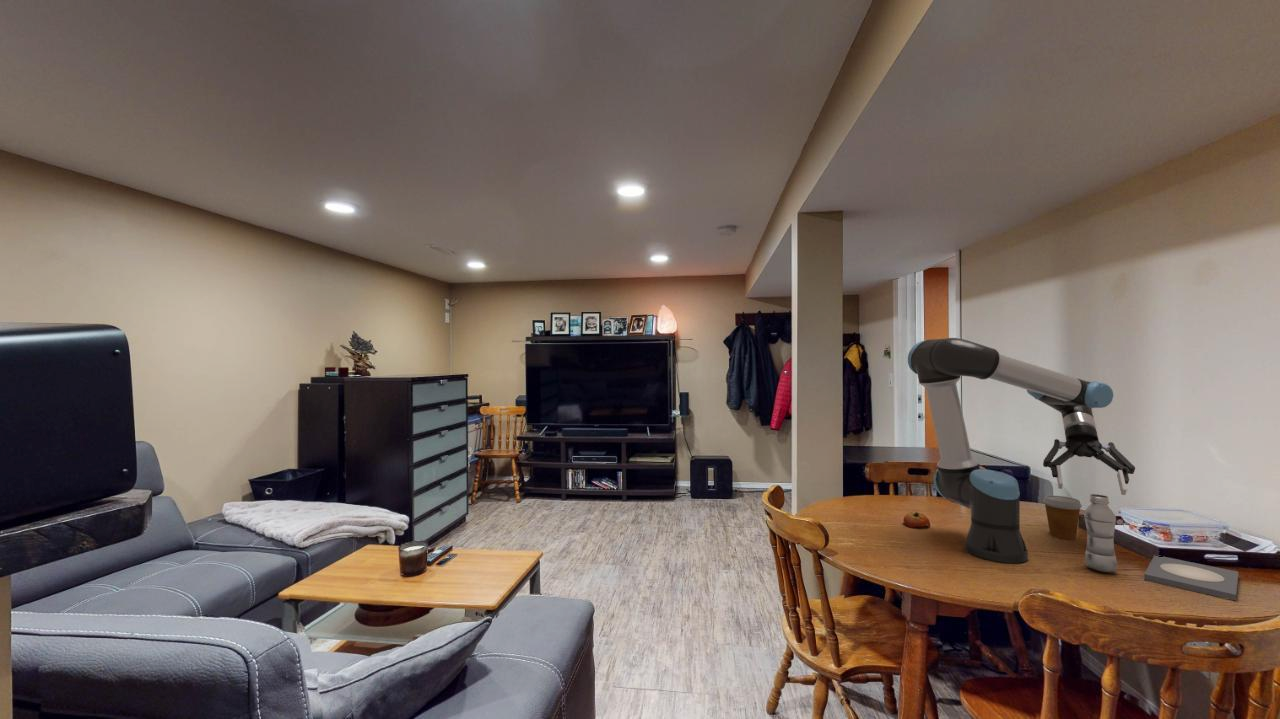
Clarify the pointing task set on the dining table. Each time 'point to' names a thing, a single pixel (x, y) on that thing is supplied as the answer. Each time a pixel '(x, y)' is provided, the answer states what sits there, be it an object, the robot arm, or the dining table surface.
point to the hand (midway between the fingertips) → (1091, 489)
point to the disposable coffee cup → (1062, 516)
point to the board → (1193, 577)
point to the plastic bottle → (1100, 535)
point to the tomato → (916, 520)
